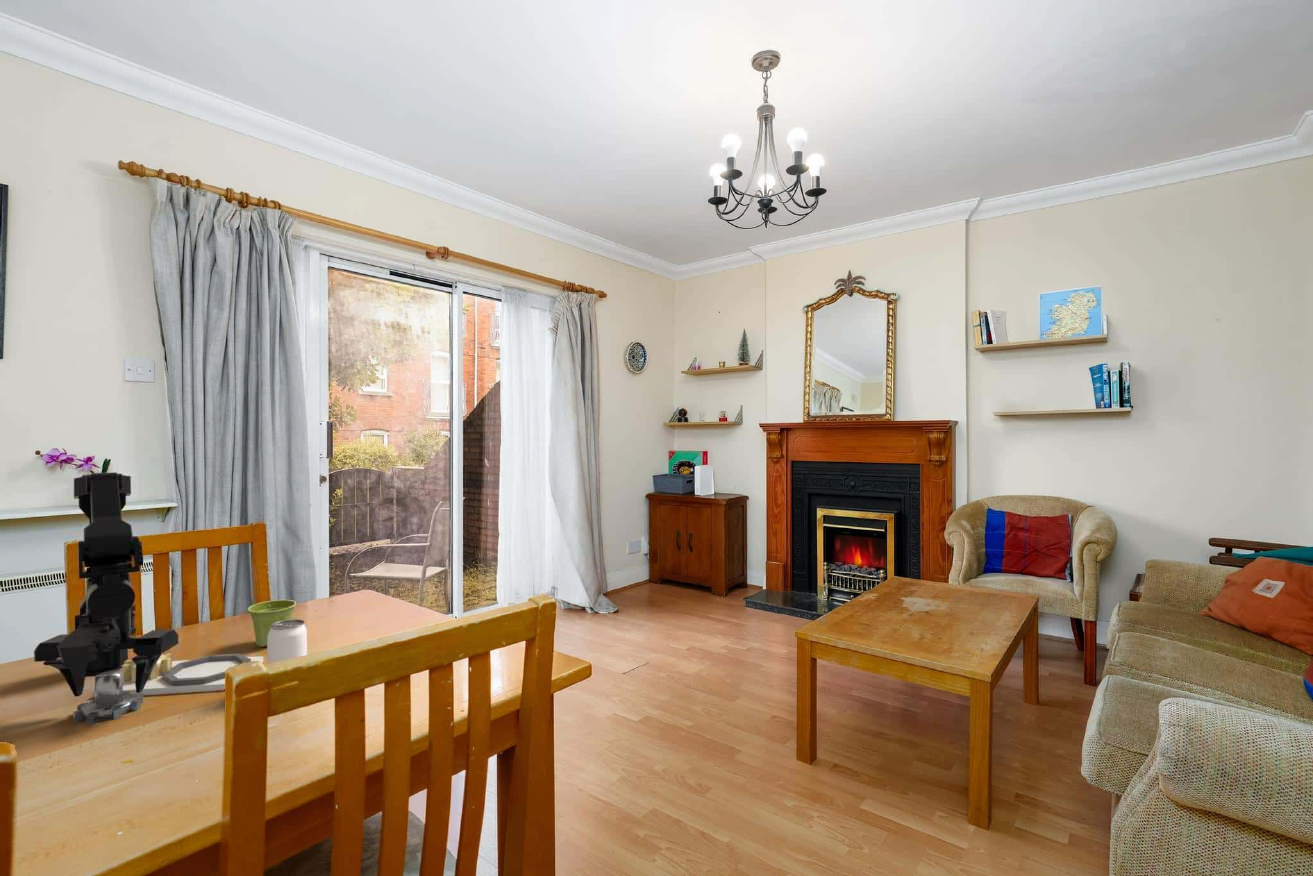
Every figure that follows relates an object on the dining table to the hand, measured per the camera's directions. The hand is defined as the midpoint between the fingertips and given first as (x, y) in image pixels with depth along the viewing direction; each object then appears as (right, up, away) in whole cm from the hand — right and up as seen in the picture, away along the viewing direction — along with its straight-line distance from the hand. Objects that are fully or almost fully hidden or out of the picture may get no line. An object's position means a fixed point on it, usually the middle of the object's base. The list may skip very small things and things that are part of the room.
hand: (109, 693), depth 105 cm
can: (+24, -3, +11) cm, 27 cm away
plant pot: (+7, -3, +34) cm, 35 cm away
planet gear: (0, -3, 0) cm, 3 cm away
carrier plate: (+3, -3, +14) cm, 14 cm away
